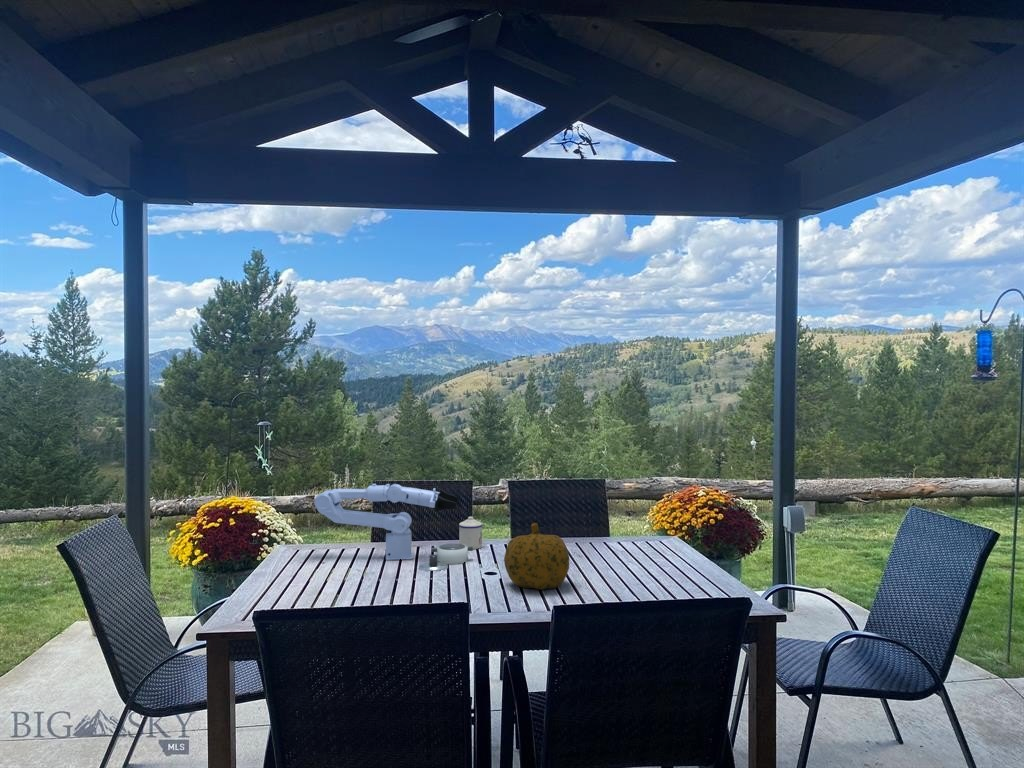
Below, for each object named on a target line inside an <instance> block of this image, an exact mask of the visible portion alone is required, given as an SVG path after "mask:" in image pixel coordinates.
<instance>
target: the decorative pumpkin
mask: <svg viewBox="0 0 1024 768" xmlns="http://www.w3.org/2000/svg"><path fill="white" fill-rule="evenodd" d="M530 529H531V533H529V534H528V535H527V534H526V535H517V536H515V537H513V538H511V539H510V540H509V541H508V543H507V546H506V549H505V553H504V557H503V562H504V567H505V570H506V573H507V575H508V578H509V579H510V580H511V581H512V583H513V584H515V585H516V586H518V587H519V588H522V587H523V588H522V589H536V590H541V591H542V590H545V589H551V590H553V589H557V588H558V587H560V586H561V585H562V583H564V581H565V579H566V577H567V575H568V573H569V569H570V553H569V550H568V548H567V545H566V543H565V541H564V539H562V538H561V537H560V536H558V535H555V534H542V533H540V531H539V530H540V529H539V524H538V523H537V522H534V523H531V525H530Z"/></svg>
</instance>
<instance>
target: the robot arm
mask: <svg viewBox="0 0 1024 768" xmlns="http://www.w3.org/2000/svg"><path fill="white" fill-rule="evenodd" d="M436 490H437V489H436V488H435V487H433V489H432V490H428V489H421V488H416V487H409V486H408V487H407V486H402V485H401V484H397V483H393V484H391V485H390V483H386V484H385V485H383V484H382V485H379V484H378V485H377V483H372V484H371V485H369V486H367V488H334V489H326V490H324V491H323V492H322V493H319V494H317V495H316V497H315V498H314V501H313V503H314V506H315V509H316V510H317V511H318V513H319V514H321V515H323V516H325V517H326V518H327V519H329V520H330V521H331V522H333V523H335V524H343V525H355V526H360V527H361V526H362V527H364V526H365V527H370V528H371V527H373V528H381V529H382V528H383V529H385V530H387V531H391V532H389V533H388V532H387V533H385V549H384V553H385V560H386V561H392V560H393V561H394V560H395V561H396V560H398V561H400V559H401V560H413V559H414V558H413V556H414V555H413V554H414V553H413V552H412V530H411V529H410V526H411V525H412V523H413V521H412V516H411V515H410V514H409V513H408V512H404V511H403V512H402V511H400V512H399V513H387V514H386V513H380V512H378V513H376V512H370V511H359V510H349V509H344V508H343V507H342V505H341V503H340V502H341V501H343V500H353V499H366V500H367V501H368V502H387V501H390V502H392V503H395V504H396V503H398V502H401V503H405V504H410V505H416V506H417V505H418V506H422V507H428V508H431V509H432V508H433V509H434V512H439V511H443V510H444V511H445V510H456V509H457V504H458V502H459V497H458V496H456V495H453V494H450V493H449V492H446V490H444V489H442V488H440V489H439V491H436Z"/></svg>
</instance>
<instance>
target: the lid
mask: <svg viewBox="0 0 1024 768" xmlns="http://www.w3.org/2000/svg"><path fill="white" fill-rule="evenodd" d="M428 556H429V557H428V558H429V560H428V562H424V563H420V564H419V565H418V569H419V570H420V569H421V570H420V571H422V570H425V571H424V572H428V571H436V572H441V570H443V571H445V569H446V570H447V569H449V564H446V563H441V562H438V555H437V554H429V555H428Z"/></svg>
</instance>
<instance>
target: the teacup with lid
mask: <svg viewBox="0 0 1024 768" xmlns="http://www.w3.org/2000/svg"><path fill="white" fill-rule="evenodd" d="M458 529H459V531H458V532H459V534H458V535H459V536H458V537H459V539H458V540H459V543H458V544H464V545H467V546H468V547H471V546H472V547H473V550H478V548H479V549H480V548H482V546H483V542H482V541H483V540H482V539H483V531H482V529H483V523H482V522H481V521H478V520H476V519H474V516H468V517H467V519H464V521H461V522H460V523H459V524H458Z"/></svg>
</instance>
